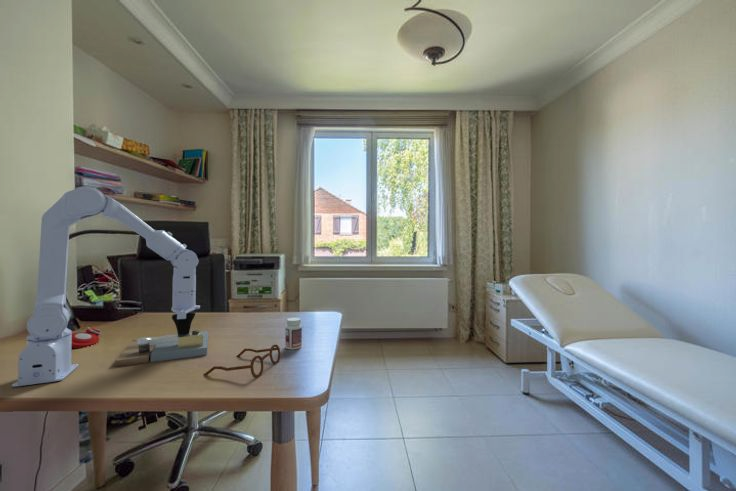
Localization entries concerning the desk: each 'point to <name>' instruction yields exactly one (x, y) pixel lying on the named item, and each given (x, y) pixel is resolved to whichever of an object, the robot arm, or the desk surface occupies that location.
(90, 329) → the tracker holder
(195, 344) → the brass keeper
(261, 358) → the glasses
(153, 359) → the door panel
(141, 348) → the jamb board
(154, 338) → the bar
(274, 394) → the desk surface
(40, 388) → the desk surface
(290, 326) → the pill bottle
